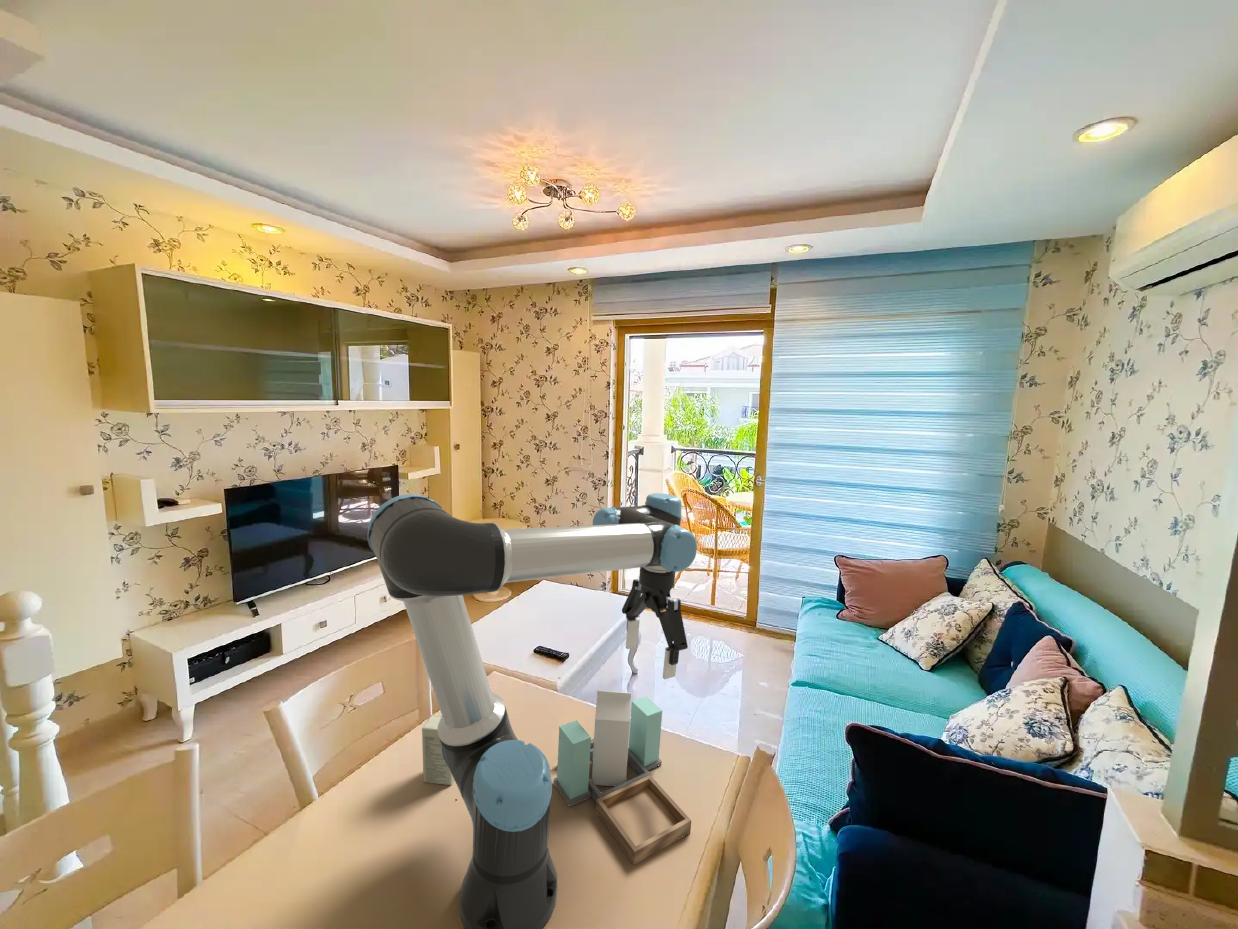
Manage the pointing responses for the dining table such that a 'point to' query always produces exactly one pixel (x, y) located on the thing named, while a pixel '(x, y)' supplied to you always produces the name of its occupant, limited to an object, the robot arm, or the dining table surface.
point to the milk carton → (611, 738)
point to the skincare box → (434, 755)
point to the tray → (642, 818)
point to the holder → (579, 748)
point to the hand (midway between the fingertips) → (649, 661)
